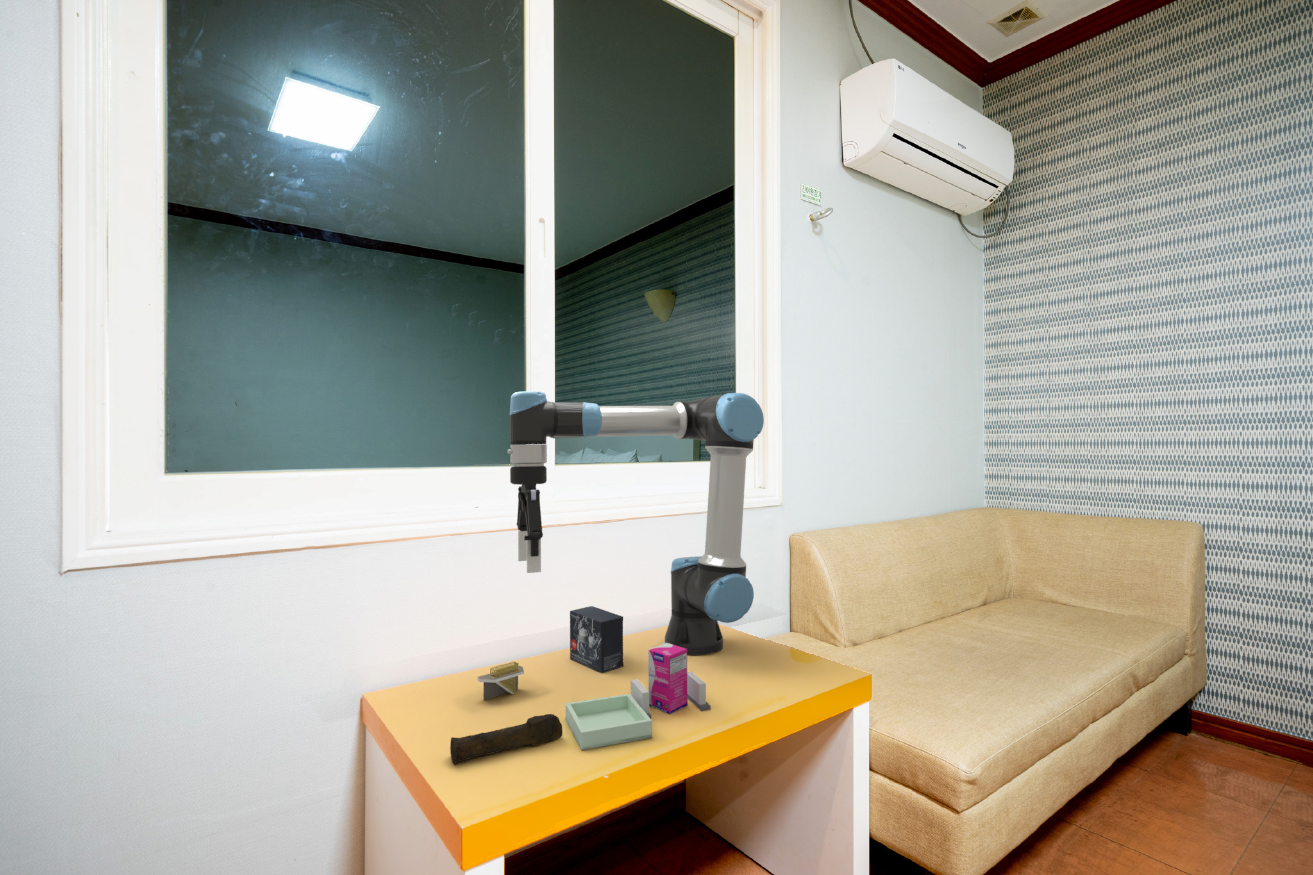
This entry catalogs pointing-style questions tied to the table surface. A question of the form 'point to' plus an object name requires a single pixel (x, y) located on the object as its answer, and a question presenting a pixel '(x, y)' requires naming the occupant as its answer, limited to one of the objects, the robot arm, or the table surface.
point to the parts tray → (607, 721)
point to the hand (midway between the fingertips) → (529, 566)
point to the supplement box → (667, 677)
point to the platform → (501, 680)
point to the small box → (596, 638)
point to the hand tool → (507, 738)
